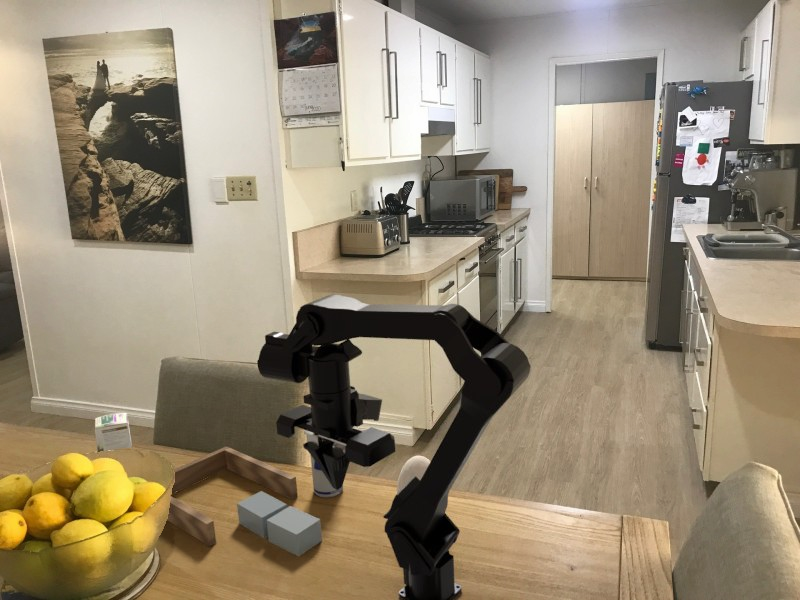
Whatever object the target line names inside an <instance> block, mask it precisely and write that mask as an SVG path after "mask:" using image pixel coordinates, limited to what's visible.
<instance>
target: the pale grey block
mask: <svg viewBox="0 0 800 600" xmlns="http://www.w3.org/2000/svg"><path fill="white" fill-rule="evenodd" d="M236 506H237V508H236V509H237V516H238V524H239V525H241V526H243V527H244V528H245V529H247V530H249V531H250V532H252V533H254V534H256V535H257V536H259V537H260V538H262V539H264V540H265V539H267V538H268V529H267V520H268V519H269V518H271V517H273V516H274V515H276V514H278V513H279V512H281V511H283V510H284V509H286V508H288V504H287V503H285V502H283V501H281V500H279V499H277V498H276V497H274V496H272V495H271V494H268V493H266V492H264V491H263V490H260V491H259V492H257V493H255V494H253V495H251V496H249V497H247V498H245V499H244V500H243V499H242V500H241V501H239V502H237V503H236Z"/></svg>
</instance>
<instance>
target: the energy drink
mask: <svg viewBox="0 0 800 600" xmlns="http://www.w3.org/2000/svg"><path fill="white" fill-rule="evenodd" d="M310 463H311V473H312V474H311V475H312V476H311V477H312V484H313V485H312V487H313V492H314V494H315V495H316V496H317V497H321V498H327V499H328V498H333V497H336V496H338V495H339V494H341V492H343V489H344V485H343V486H342V487H341V488H340V489H338V490H336V489H334V488H333V487H332V486H331V484H330V482H329V481H328V479H327V478H326V476H325V475H324V473H323V472H322V470H321V469H320V467H319V466H318V464H317V463H316V461H315V460H314V459H313V457H312V456H311V455H310Z"/></svg>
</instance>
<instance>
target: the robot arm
mask: <svg viewBox="0 0 800 600" xmlns="http://www.w3.org/2000/svg"><path fill="white" fill-rule="evenodd" d="M295 321H296V322H295V324H294V326H293V327H292V329H291V331H290V333H289V334H286V333H283V332H280V331H272V332H270V333H268V334H266V335H264V339H265V343H264V344H263V345H262V347H261V349H260V351H259V355H258V359H257V361H256V362H257V363H256V365H257V369H258V372H259V374H260V375H261V376H262V377H264V379H265V378H266V379H270V380H276V381H277V380H278V381H283V382H289V383H295V384H301V383H303V382H305V381H306V380H307V379H308V389H309V390H308V391H309V392H308V394H305V395H303V398H302V399H303V403H304V404H301V405H299V406H297V407H295V408H292V409H290V410H288V411H285V412H283V413H281V414H279V417H278V418H277V420H276V433H277V435H279V436H282V437H285V438H287V439H290V438H292V437H294V435H295V434H296V431H295V430H296V429H295V427H296V428H299V429H302V430H303V431H304V430H305V431H304V435H306V442H305V443H303V449H305V450H306V451H307V452H308V453H309V455H310V457H311V456H312V457H313V459H314V460H315V461H316V463H317V464H318V466H319V467H320V469H321V470H322V472H323V473H324V475H325V476H326V478H327V479H328V481H329V482H330V484H331V486H332V487H333V488H334V489H336V490H338V489H340V488H341V487H342V486H343V487H344V482H345V479H346V475H347V473H348V470H349V469H348V468H349V465H350V463H353V464H355V465H358V466H360V467H363V468H368V467H369V468H370V467H372V466H373V465H375V464H377V463H379V462H380V461H383V460H384V459H385V458H387V457H389V456H391V455H392V454H394V453H395V452H396V440H395V439H396V438H395V436H394V435H393V434H391V433H390V432H388V431H385V430H381V429H378V428H376V427H372V426H371V427H369V428H367V429H365V430H359V429H356V428H358V427H361V426H362V425H364V420H367V421H369V420H371V421H374V422H375V421H376V422H378V421H379V420H380V415H381V409H382V405H383V399H382V398H379V397H375V396H371V395H367V394H364V393H359V392H358V390H357V389H356V387H355V386H353V385H351V379H350V378H351V377H350V362H351V361H352V360H354V359H356V358H358V357H360V356H361V355H362V354H363V351H362V350H361V349H360V347H359V346H357V345H355V344H354V343H353V342H352V339H357V338H375V339H393V340H394V339H396V340H397V339H398V340H421V341H434V342H435V343H437V345H438V346H440V347H441V349H442V350H443V353H444V354H445V356H446V358H447V360H448V362H449V363H450V365H451V367H452V369H453V370H454V373H456V374H457V375H458V376H459V377H460V378H461V379H462V381H464V382H463V385H462V388H461V391H460V400H459V401H460V402H459V404H460V405H459V409H458V411H457V413H456V414H455V417H454V418H453V420H452V421H451V424H450V426H449V428H448V430H447V431H446V433H445V435H444V437H443V438H442V440H441V442H440V444H439V446H438V447H437V449H436V451H435V453H434V455H433V457H432V459H431V460H430V461H431V462H430V464H429V466H428V467H427V469H426V471H425V473H424V475H423V477H422V478H421V480H419V479H418V478H417V477H416V476H414V477H413V478H412V479H411V480H410V481H409V482H408V483H407V484H406V485H405V486H404V487H403V488H402V489H401V490H400V492H399V493H398V494H397V493H396V494H395V496H394V498H393V500H392V503H391V506H390V508H389V510H387V512H385V513H384V515H383V516H382V517H383V518H384V519H385V520H386V521H385V524H384V533H385V534H386V535H387V538H388V540H389V543H390V546H391V549H392V550H393V553H394V556H395V559H396V561H397V564H398V566H399V567H400V568H402V569H403V584H404V585H405V586H404V587H402V588H401V589H400V590H399V591H398V596H399V597H400V598H402V599H404V600H453V599H455V597H457V595H459V594H460V593H461V591H462V585H460V584H458V583H456V582H455V562H454V561H455V559H454V558H455V557H454V555H452V554H451V553H450V551H449V550H450V549H451V548H452V546H453V545H454V544H455V543H456V542H457V541H458V538H459V536H460V535H459V534H460V531H461V530H460V528H459V527H458V526H457V525H456V523H454V522H453V521H452V519H451V518H450V517H449V516H448V515H447V513H446V511H447V508H448V505H449V504H448V503H449V493H450V490H451V489H452V487H453V486H454V484H455V481H456V480H457V479H458V476H459V475H460V473H461V472H462V470H463V468H464V466H466V463H467V461H468V460H469V458H470V456H471V454H473V453H472V452H473V451H474V450H475V447H476V445H477V444H478V442H479V440H480V439H481V438H482V436H483V434H484V432H485V430H486V429H487V427H488V425H489V423H490V422H491V420H492V419H493V417H494V416H495V415H496V414H497V412H499V410H500V409H501V408H502V407H503V406H504V405H505V403H507V402H508V400H509V399H510V398H511V397H512V396H513V395H514V394H515V392H516V391H517V390H518V389H519V388H521V386H522V385H523V383H525V382H526V380H527V379H528V377H529V376H530V373H531V364H530V362H529V359H528V356H527V355H526V353H525V352H524V350H523V349H521V348H520V347H519V346H517V345H515V344H513V343H510V342H509V341H508V340H507V339H506V338H505V337H503V335H501V333H499V331H497V330H496V329H494V328H492V327H491V326H489V325H487V324H486V323H484V322H483V321H481V320H479V319H478V318H476V317H474V316H473V314H471V312H469V310H467V309H466V308H465V307H464V306H462V305H460V304H457V303H448V304H445V305H437V304H436V305H435V304H434V305H433V304H431V305H429V304H422V305H421V304H369V303H366V302H361V301H360V300H358V299H356V298H355V297H350V296H345V295H339V294H329V295H326V296H323V297H321V298H318V299H315V300H313V301H311V302H308V303H305V304H303V305H301V306H300V307H299V309H298V311H297V314H296V317H295ZM476 350H477V351H478V352H479V353H480V354H481V355H480V354H479V353H478V352H476ZM305 404H306V405H305ZM307 405H310V406H307ZM354 427H356V428H354Z"/></svg>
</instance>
